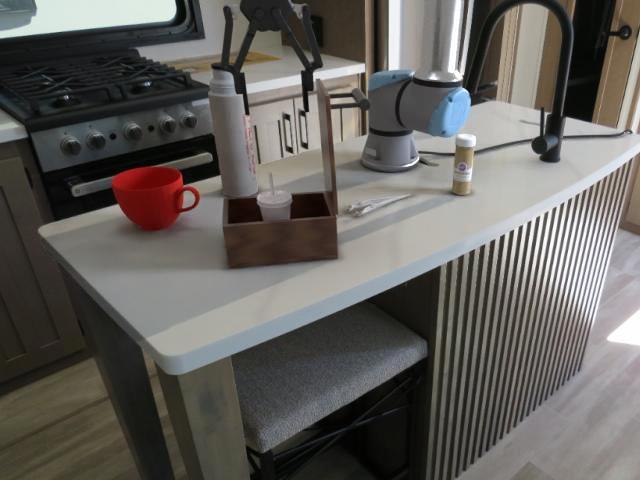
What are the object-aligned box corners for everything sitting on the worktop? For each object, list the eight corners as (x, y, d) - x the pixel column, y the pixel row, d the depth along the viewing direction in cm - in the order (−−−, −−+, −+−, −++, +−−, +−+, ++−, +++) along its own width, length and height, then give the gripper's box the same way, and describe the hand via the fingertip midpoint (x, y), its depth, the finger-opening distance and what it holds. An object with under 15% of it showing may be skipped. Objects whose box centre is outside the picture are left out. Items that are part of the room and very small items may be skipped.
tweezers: (359, 218, 121) (359, 209, 120) (345, 211, 124) (345, 203, 123) (417, 203, 131) (418, 195, 130) (404, 197, 134) (404, 189, 133)
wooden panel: (324, 95, 89) (373, 92, 91) (315, 78, 100) (358, 75, 101) (334, 215, 101) (377, 210, 102) (325, 188, 111) (363, 184, 113)
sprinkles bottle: (452, 195, 133) (457, 138, 125) (450, 188, 136) (454, 132, 129) (471, 195, 133) (477, 139, 125) (469, 188, 137) (474, 133, 129)
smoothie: (283, 233, 112) (276, 165, 104) (302, 244, 108) (297, 174, 100) (255, 243, 108) (246, 173, 100) (274, 255, 104) (266, 183, 97)
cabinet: (229, 268, 101) (222, 226, 97) (229, 237, 112) (223, 197, 107) (338, 258, 106) (336, 217, 101) (328, 229, 116) (327, 190, 111)
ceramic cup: (189, 243, 109) (179, 195, 104) (109, 234, 111) (96, 186, 106) (218, 216, 120) (211, 171, 114) (145, 208, 122) (134, 163, 117)
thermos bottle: (263, 186, 134) (249, 60, 119) (249, 198, 128) (232, 68, 113) (232, 183, 136) (214, 58, 120) (217, 195, 129) (196, 65, 114)
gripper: (330, -36, 93) (336, 103, 105) (188, -37, 88) (212, 109, 100) (337, -33, 87) (342, 114, 99) (185, -34, 82) (211, 120, 94)
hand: (277, 111), depth 100 cm, fingers open, 10 cm apart
